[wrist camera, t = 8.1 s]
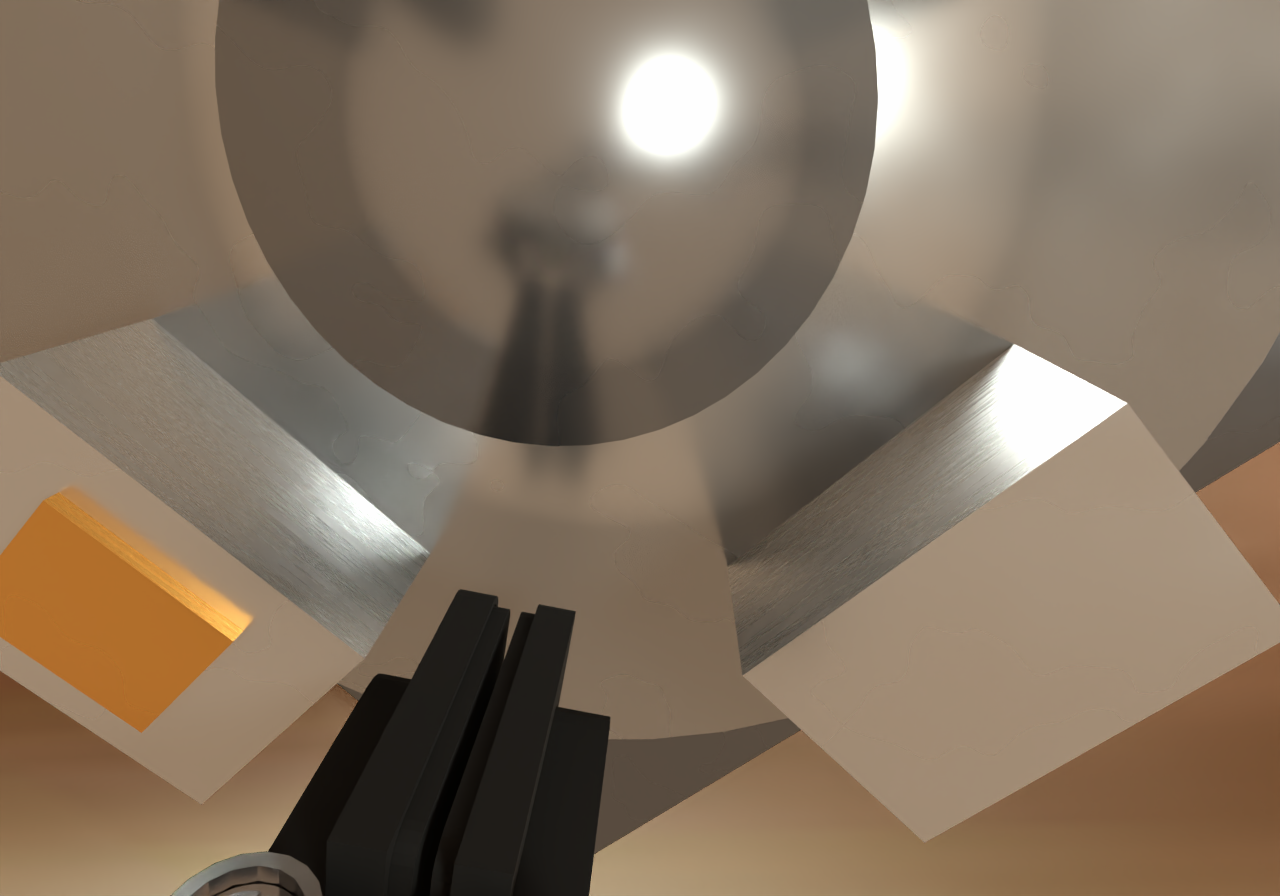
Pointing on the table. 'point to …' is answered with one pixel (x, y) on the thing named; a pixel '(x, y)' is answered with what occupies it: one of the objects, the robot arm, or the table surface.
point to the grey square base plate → (683, 765)
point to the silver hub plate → (635, 363)
